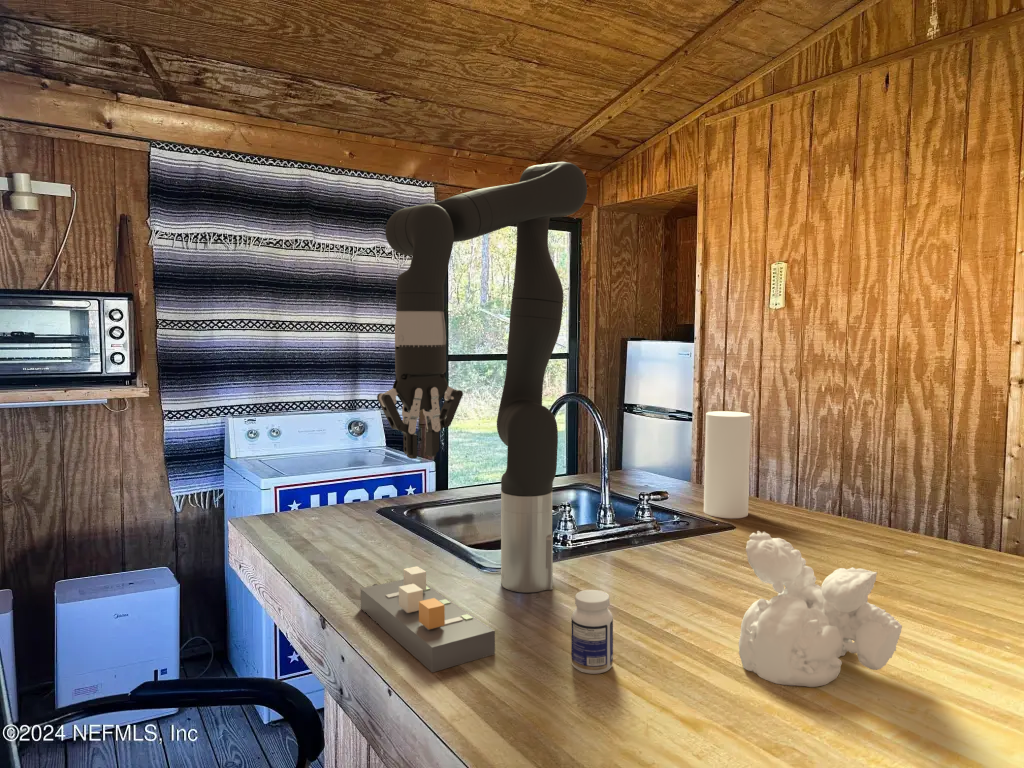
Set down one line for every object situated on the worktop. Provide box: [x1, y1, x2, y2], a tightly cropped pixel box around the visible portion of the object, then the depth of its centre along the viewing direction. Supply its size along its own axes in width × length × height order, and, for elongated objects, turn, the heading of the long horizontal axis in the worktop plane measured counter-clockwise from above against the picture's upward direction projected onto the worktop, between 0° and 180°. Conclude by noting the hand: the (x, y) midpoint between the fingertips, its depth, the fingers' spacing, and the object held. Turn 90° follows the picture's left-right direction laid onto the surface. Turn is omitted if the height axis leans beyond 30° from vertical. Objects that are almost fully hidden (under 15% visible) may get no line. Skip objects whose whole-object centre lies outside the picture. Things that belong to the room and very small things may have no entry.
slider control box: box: [359, 578, 496, 673], centre depth 114 cm, size 32×10×4 cm, turn 33°
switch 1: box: [403, 565, 427, 590], centre depth 118 cm, size 2×3×3 cm
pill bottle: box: [570, 589, 614, 675], centre depth 100 cm, size 6×6×10 cm
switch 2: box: [399, 584, 423, 613], centre depth 110 cm, size 2×3×3 cm
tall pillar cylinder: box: [703, 410, 752, 519], centre depth 180 cm, size 11×11×25 cm
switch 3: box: [419, 598, 445, 629], centre depth 104 cm, size 2×3×3 cm
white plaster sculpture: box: [738, 530, 903, 688], centre depth 100 cm, size 19×20×20 cm
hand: (421, 456), depth 109 cm, fingers open, 2 cm apart
